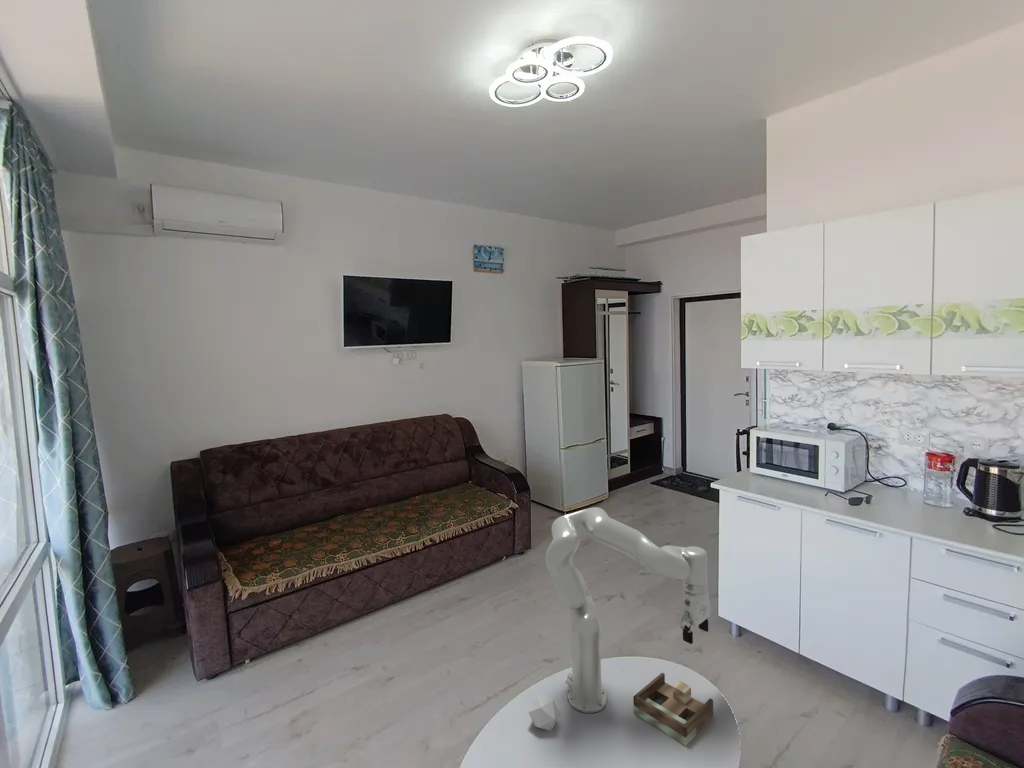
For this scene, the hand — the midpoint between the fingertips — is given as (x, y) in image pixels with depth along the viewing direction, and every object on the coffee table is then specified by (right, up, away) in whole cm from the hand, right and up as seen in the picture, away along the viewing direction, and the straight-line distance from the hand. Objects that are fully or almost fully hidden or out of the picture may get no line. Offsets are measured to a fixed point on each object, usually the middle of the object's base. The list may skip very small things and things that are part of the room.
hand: (695, 635), depth 162 cm
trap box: (-10, -22, -7) cm, 24 cm away
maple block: (-6, -19, -3) cm, 20 cm away
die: (-50, -24, -9) cm, 56 cm away
